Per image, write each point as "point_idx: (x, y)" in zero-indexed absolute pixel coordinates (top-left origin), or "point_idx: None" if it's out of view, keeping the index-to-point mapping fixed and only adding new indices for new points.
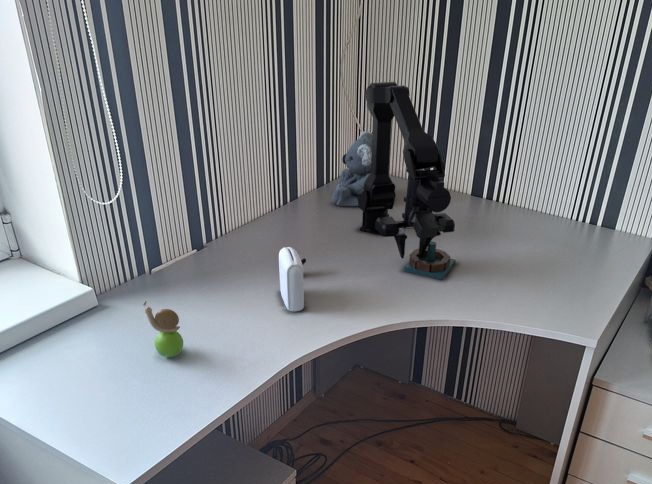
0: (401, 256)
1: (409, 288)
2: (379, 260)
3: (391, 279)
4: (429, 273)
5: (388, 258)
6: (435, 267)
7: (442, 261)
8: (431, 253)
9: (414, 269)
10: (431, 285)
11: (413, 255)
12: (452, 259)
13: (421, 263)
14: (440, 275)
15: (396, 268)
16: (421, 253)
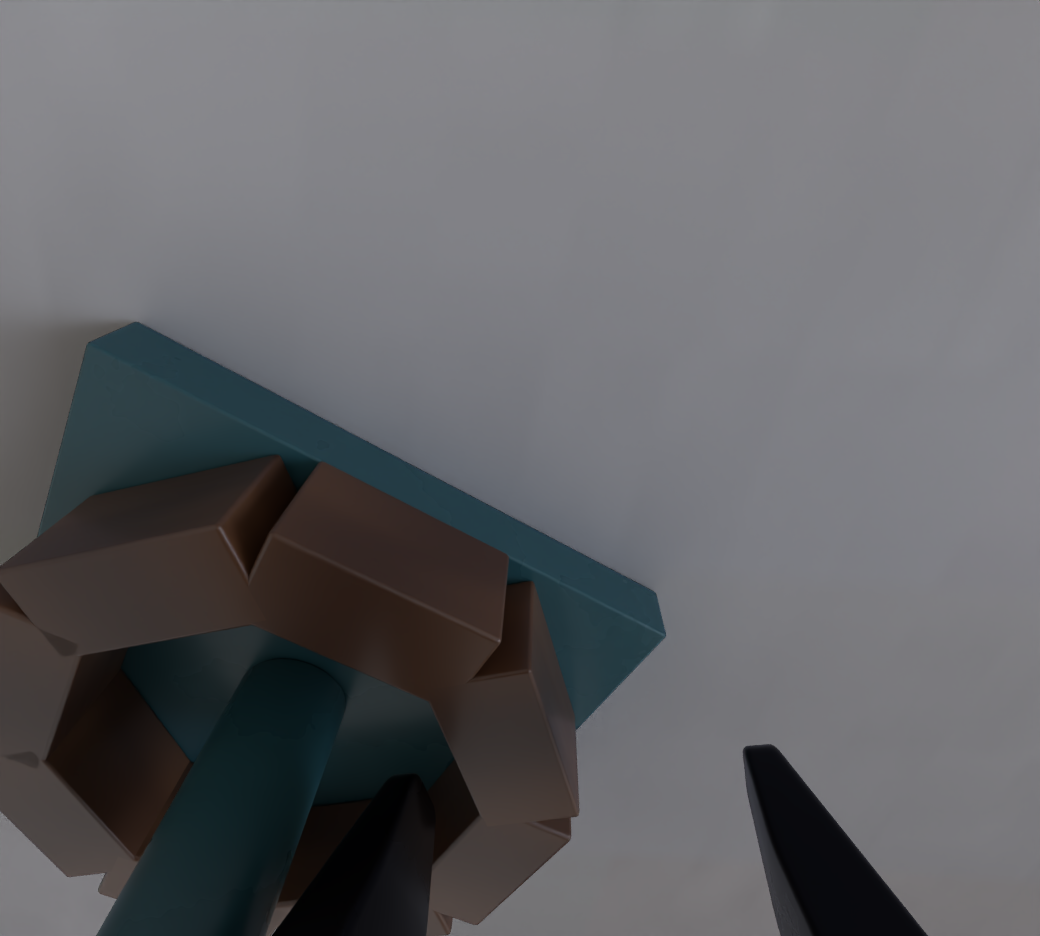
0: (796, 783)
1: (740, 16)
2: (861, 805)
3: (925, 385)
4: (317, 447)
5: (747, 828)
6: (179, 507)
7: (41, 639)
8: (212, 825)
9: (536, 566)
10: (310, 130)
11: (520, 819)
12: None
13: (424, 604)
14: (129, 358)
15: (733, 654)
16: (392, 832)
